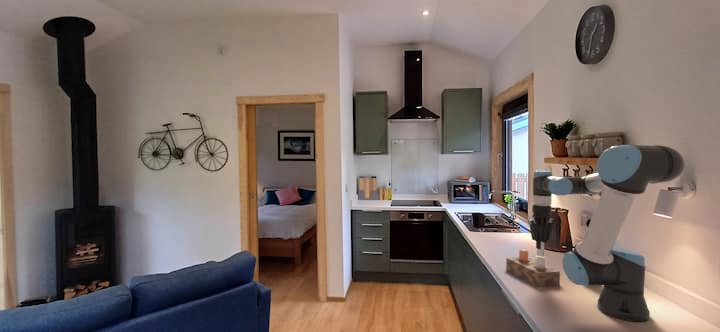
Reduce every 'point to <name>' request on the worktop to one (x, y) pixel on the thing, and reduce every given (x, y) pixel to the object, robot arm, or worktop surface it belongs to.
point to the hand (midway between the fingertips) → (540, 255)
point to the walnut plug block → (533, 272)
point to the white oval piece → (540, 263)
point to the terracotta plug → (523, 255)
